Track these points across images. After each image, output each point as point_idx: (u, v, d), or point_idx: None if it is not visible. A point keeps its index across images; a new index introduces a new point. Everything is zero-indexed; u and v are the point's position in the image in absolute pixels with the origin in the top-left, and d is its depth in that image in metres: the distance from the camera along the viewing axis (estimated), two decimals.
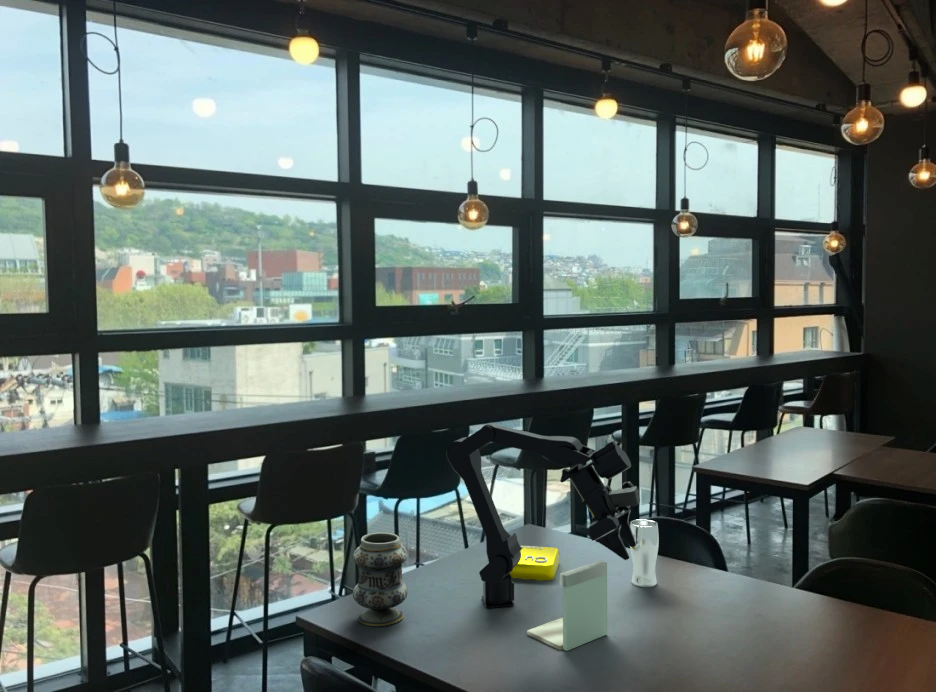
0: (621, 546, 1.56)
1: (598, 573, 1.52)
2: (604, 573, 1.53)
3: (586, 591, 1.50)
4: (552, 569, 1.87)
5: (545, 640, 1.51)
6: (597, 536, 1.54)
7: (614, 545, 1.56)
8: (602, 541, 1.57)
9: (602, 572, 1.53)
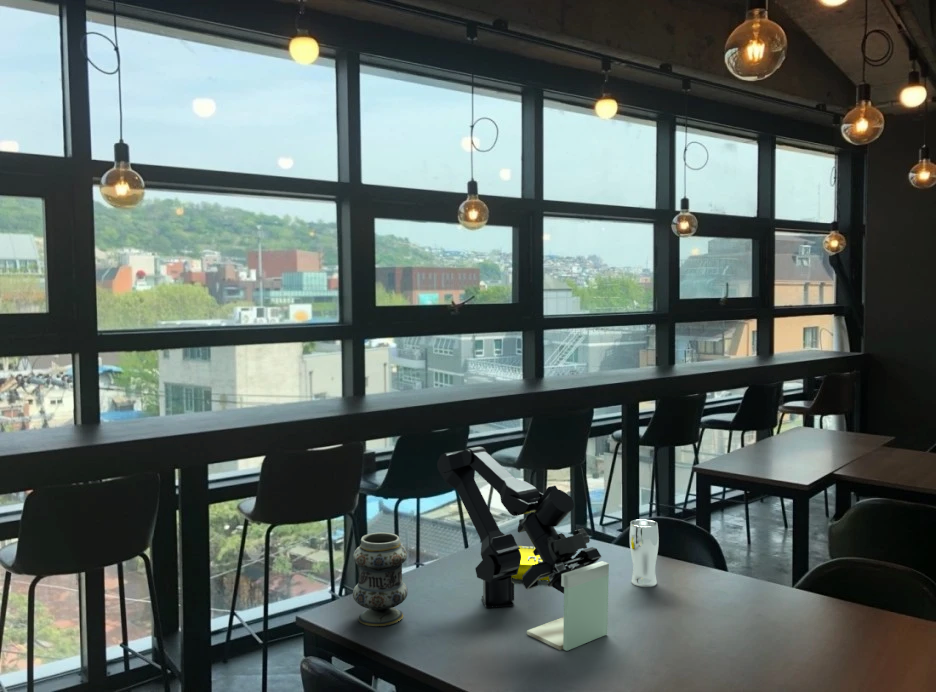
0: None
1: (600, 574, 1.52)
2: (605, 573, 1.53)
3: (587, 592, 1.50)
4: None
5: (545, 640, 1.51)
6: (527, 585, 1.50)
7: None
8: (556, 586, 1.54)
9: (604, 573, 1.53)
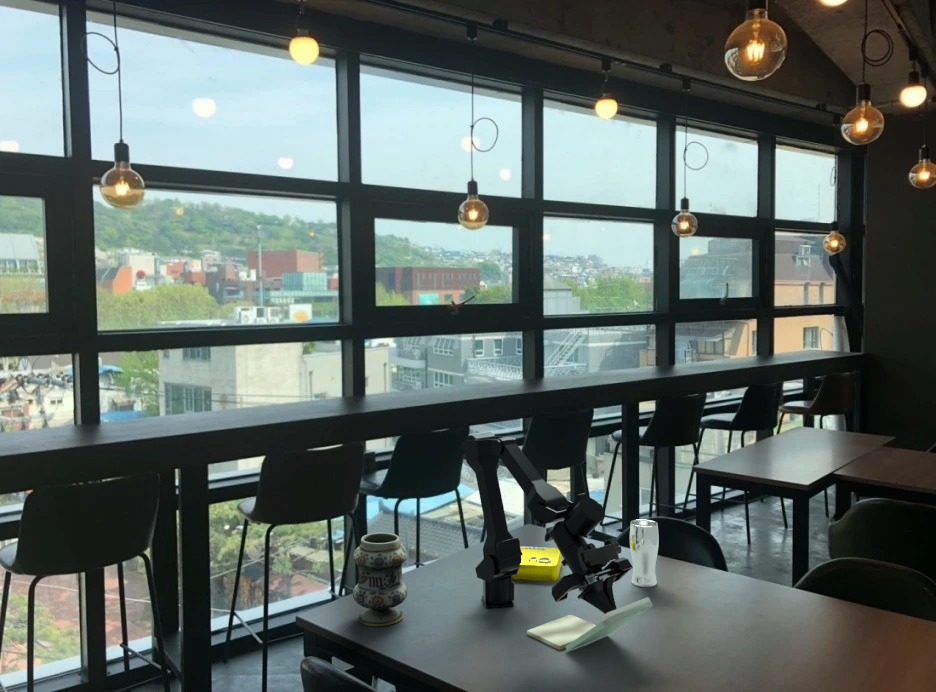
0: (604, 603, 1.45)
1: (639, 612, 1.44)
2: (643, 610, 1.46)
3: (617, 623, 1.44)
4: (556, 569, 1.87)
5: (545, 640, 1.51)
6: (557, 597, 1.44)
7: (598, 603, 1.46)
8: (586, 598, 1.48)
9: (643, 610, 1.45)
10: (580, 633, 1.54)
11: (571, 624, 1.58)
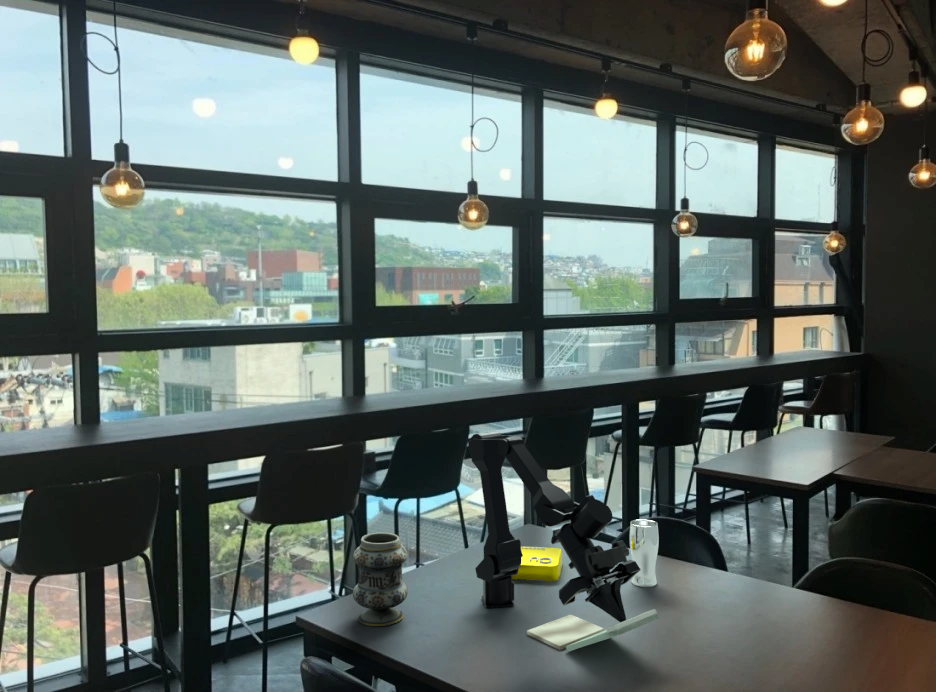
0: (612, 606, 1.44)
1: None
2: None
3: None
4: (557, 570, 1.87)
5: (545, 640, 1.51)
6: (565, 600, 1.42)
7: (606, 606, 1.45)
8: (594, 601, 1.46)
9: None
10: (580, 633, 1.54)
11: (571, 624, 1.58)
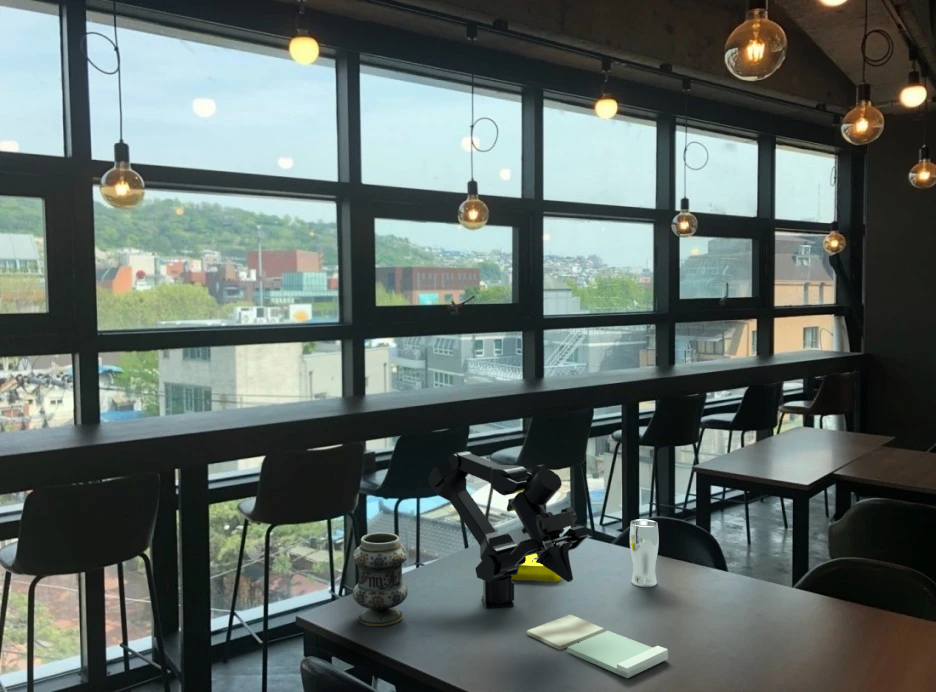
0: (560, 567, 1.54)
1: None
2: None
3: None
4: None
5: (545, 640, 1.51)
6: (516, 561, 1.53)
7: (555, 567, 1.55)
8: (544, 563, 1.57)
9: None
10: (580, 633, 1.54)
11: (571, 624, 1.58)
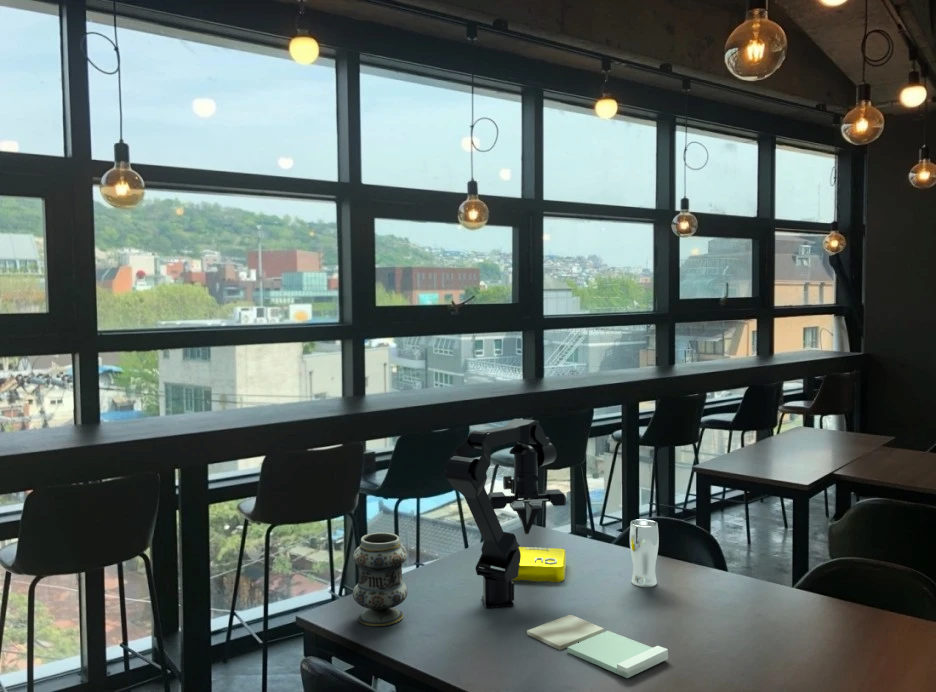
0: None
1: None
2: None
3: None
4: (563, 570, 1.86)
5: (545, 640, 1.51)
6: None
7: None
8: None
9: None
10: (580, 633, 1.54)
11: (571, 624, 1.58)
